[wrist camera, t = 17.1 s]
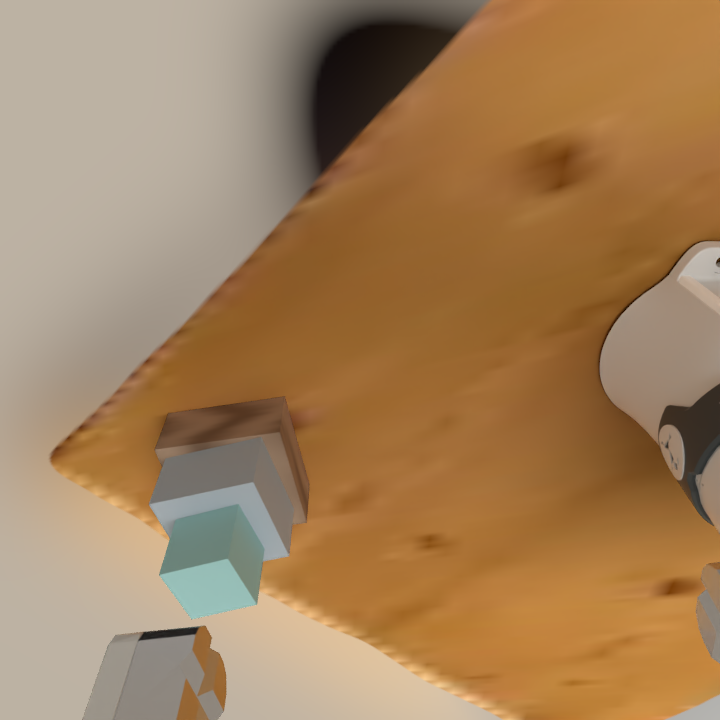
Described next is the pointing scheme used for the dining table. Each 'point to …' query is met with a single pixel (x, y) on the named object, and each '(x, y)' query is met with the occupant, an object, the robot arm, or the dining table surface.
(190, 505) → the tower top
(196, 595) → the teal block
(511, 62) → the dining table surface
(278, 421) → the tower base
